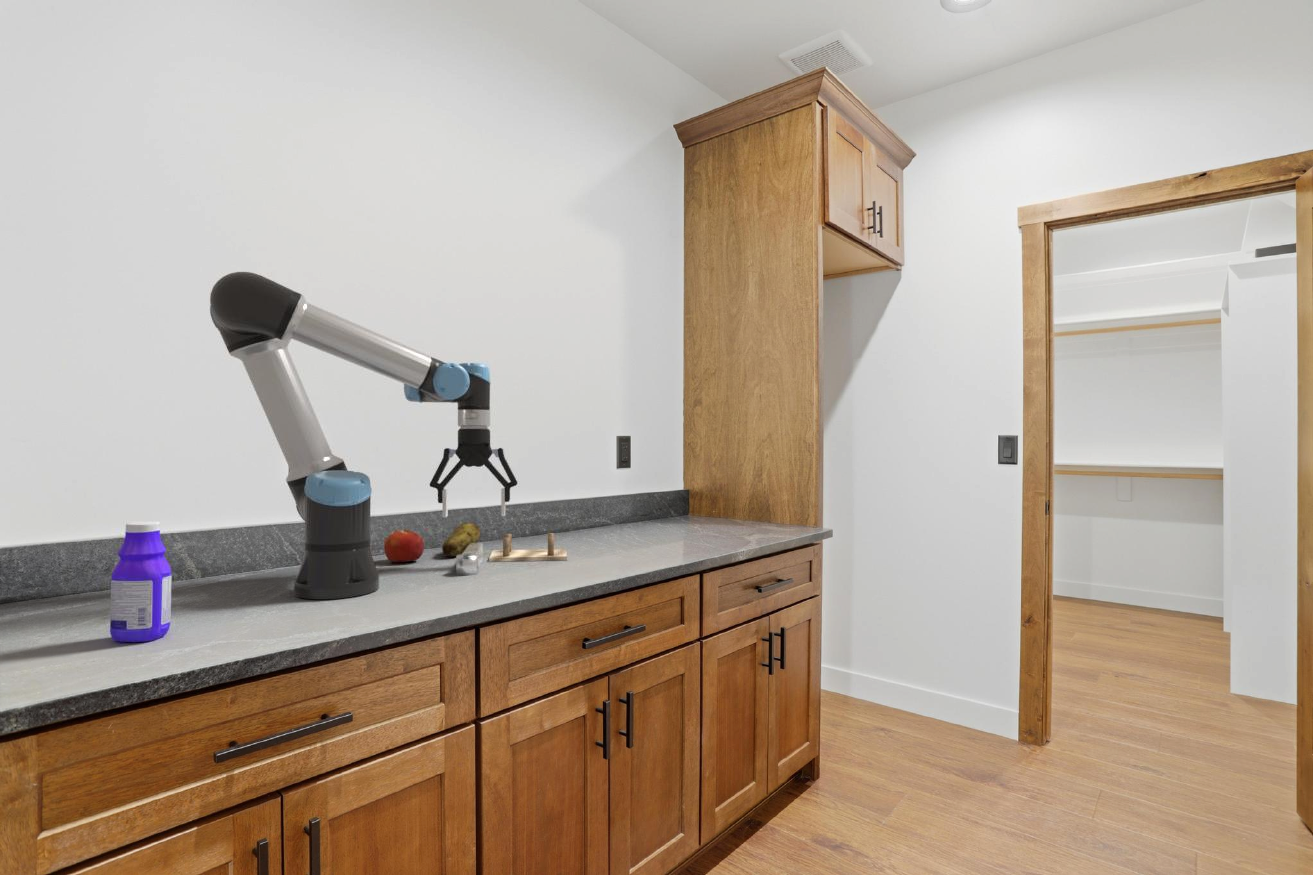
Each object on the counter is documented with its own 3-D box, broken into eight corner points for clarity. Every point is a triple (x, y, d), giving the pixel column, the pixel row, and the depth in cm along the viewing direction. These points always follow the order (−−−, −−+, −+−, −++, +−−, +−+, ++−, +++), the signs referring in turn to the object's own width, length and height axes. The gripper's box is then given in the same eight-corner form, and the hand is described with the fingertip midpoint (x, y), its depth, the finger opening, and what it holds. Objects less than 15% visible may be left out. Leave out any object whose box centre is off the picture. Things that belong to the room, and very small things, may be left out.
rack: (489, 561, 163) (489, 539, 163) (492, 554, 174) (493, 533, 174) (566, 560, 166) (567, 538, 166) (565, 552, 177) (566, 532, 177)
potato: (428, 556, 170) (429, 525, 170) (468, 549, 181) (468, 520, 181) (450, 559, 166) (450, 527, 166) (489, 552, 176) (489, 522, 176)
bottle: (178, 632, 102) (180, 520, 102) (152, 644, 97) (153, 524, 97) (130, 632, 102) (131, 519, 102) (100, 644, 96) (102, 524, 96)
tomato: (378, 561, 163) (378, 528, 163) (414, 557, 169) (415, 525, 169) (392, 567, 156) (392, 533, 156) (430, 562, 162) (430, 529, 162)
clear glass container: (466, 559, 167) (466, 541, 167) (486, 558, 168) (486, 541, 168) (454, 575, 146) (454, 555, 146) (477, 575, 147) (477, 555, 147)
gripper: (416, 427, 154) (417, 519, 154) (526, 427, 158) (526, 516, 158) (422, 428, 161) (423, 515, 161) (527, 428, 165) (527, 513, 165)
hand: (474, 516), depth 159 cm, fingers open, 13 cm apart
